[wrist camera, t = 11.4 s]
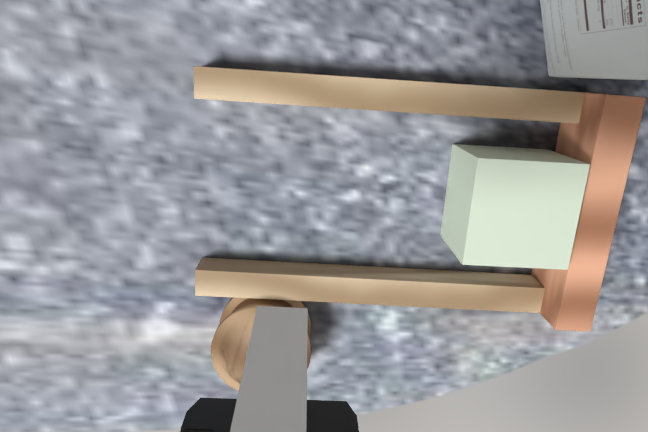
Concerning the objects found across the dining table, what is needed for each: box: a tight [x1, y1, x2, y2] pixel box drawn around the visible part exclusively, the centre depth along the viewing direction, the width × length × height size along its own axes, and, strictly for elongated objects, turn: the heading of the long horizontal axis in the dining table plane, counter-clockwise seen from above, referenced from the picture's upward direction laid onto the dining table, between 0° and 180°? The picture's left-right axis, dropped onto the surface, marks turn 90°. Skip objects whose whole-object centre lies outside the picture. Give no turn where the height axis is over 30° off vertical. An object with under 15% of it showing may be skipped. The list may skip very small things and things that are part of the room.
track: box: [194, 66, 646, 331], centre depth 35 cm, size 16×28×5 cm, turn 86°
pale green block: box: [441, 144, 590, 270], centre depth 35 cm, size 7×7×6 cm
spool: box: [211, 297, 311, 391], centre depth 39 cm, size 7×7×4 cm
